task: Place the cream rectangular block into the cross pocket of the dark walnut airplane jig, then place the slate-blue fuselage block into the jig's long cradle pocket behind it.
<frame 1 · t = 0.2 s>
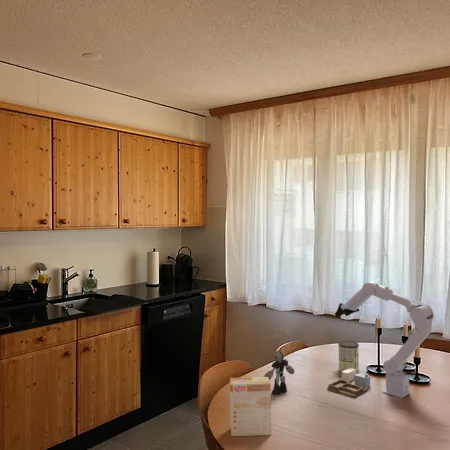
hand: (340, 315, 224), 31 cm above the table, tool tilted 45°, fingers open, 7 cm apart
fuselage: (362, 386, 213), on the table
robot: (279, 392, 206), on the table
coffeecake box: (250, 432, 168), on the table
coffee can: (348, 370, 235), on the table
cream rectangular block: (348, 379, 221), on the table
jig: (347, 390, 207), on the table
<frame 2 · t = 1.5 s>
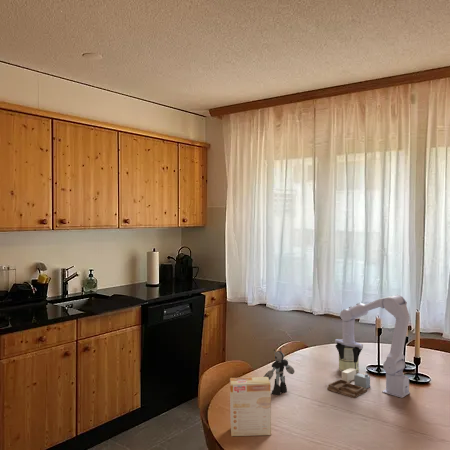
hand: (348, 360, 221), 9 cm above the table, tool pointing down, fingers open, 7 cm apart
nothing on the table moved.
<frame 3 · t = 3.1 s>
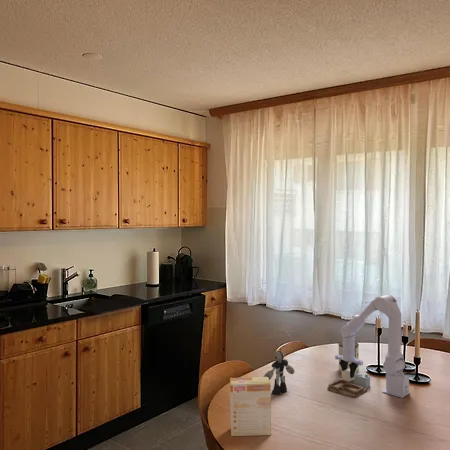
hand: (348, 376, 221), 1 cm above the table, tool pointing down, fingers closed on cream rectangular block, 3 cm apart
cream rectangular block: (348, 379, 221), on the table, touching gripper
everything else where it was.
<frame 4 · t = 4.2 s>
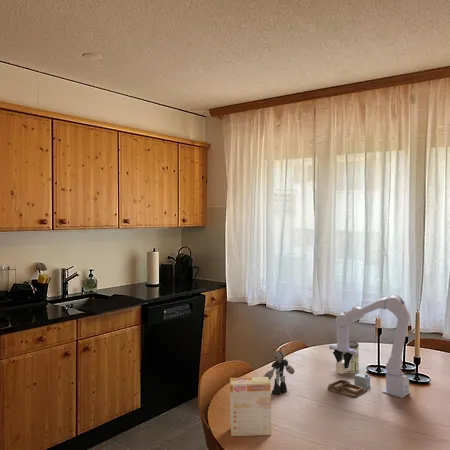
hand: (343, 367, 215), 8 cm above the table, tool pointing down, fingers closed on cream rectangular block, 3 cm apart
cream rectangular block: (343, 371, 215), point 6 cm above the table, touching gripper
everything else where it was.
when the fingers open (3 cm above the table, at t = 5.8 s): cream rectangular block stays where it is, resting on jig.
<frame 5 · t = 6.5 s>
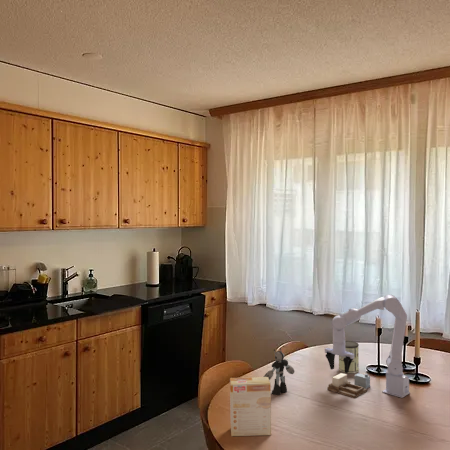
hand: (339, 370, 210), 8 cm above the table, tool pointing down, fingers open, 7 cm apart
cream rectangular block: (339, 385, 211), point 1 cm above the table, touching jig
everything else where it was.
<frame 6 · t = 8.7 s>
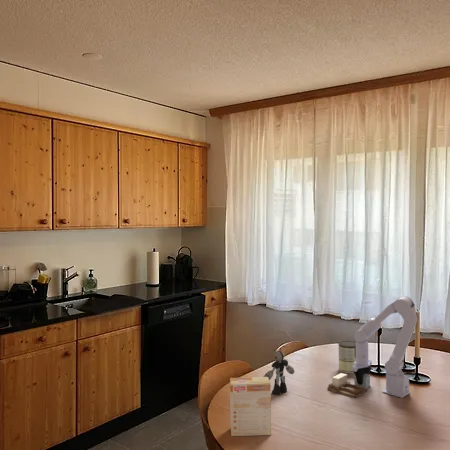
hand: (362, 382, 213), 1 cm above the table, tool pointing down, fingers closed on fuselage, 4 cm apart
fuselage: (362, 385, 213), on the table, touching gripper
everything else where it was.
when the fingers open (3 cm above the table, at t = 11.3 s): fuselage stays where it is, resting on jig.
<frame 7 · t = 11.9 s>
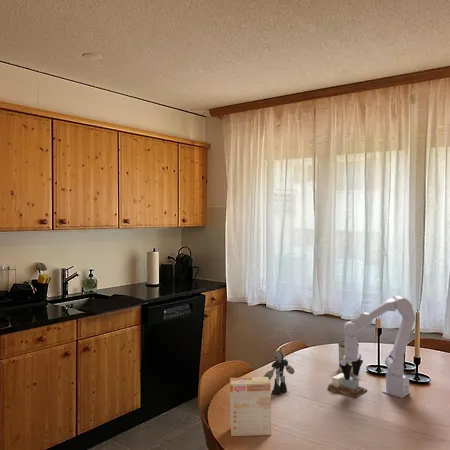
hand: (351, 377, 207), 6 cm above the table, tool pointing down, fingers open, 7 cm apart
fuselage: (350, 389, 206), point 1 cm above the table, touching jig
everything else where it was.
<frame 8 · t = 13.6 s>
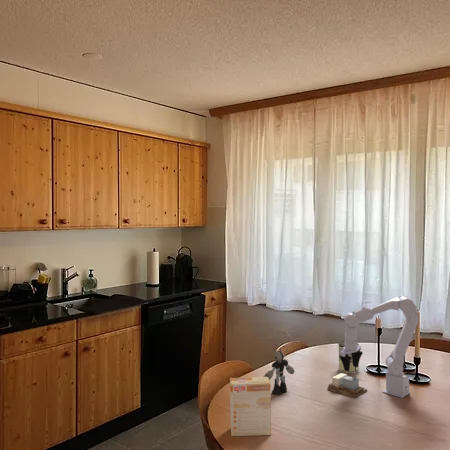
hand: (351, 368, 208), 10 cm above the table, tool pointing down, fingers open, 7 cm apart
nothing on the table moved.
at the end: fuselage inside the target area on the jig (0.4 cm from its centre), point 1.0 cm above the jig's base; cream rectangular block 0.4 cm from the target spot on the jig, point 1.0 cm above the jig's base; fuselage tilted 0° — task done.
